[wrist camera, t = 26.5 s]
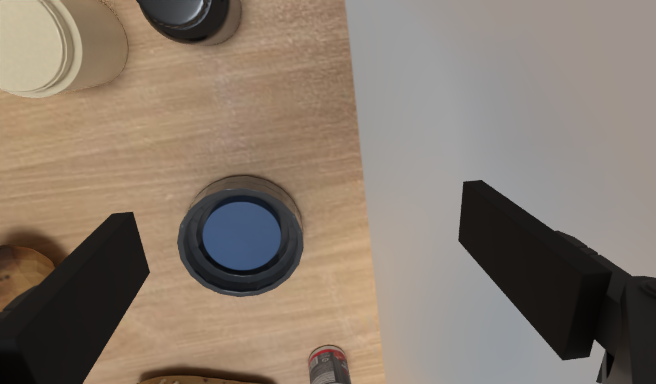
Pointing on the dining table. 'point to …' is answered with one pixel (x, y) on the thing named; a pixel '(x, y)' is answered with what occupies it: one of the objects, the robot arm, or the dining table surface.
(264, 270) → the bowl
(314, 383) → the pill bottle
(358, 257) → the dining table surface
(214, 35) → the supplement bottle
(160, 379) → the bread
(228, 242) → the jar lid
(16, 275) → the potato
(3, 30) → the jar
